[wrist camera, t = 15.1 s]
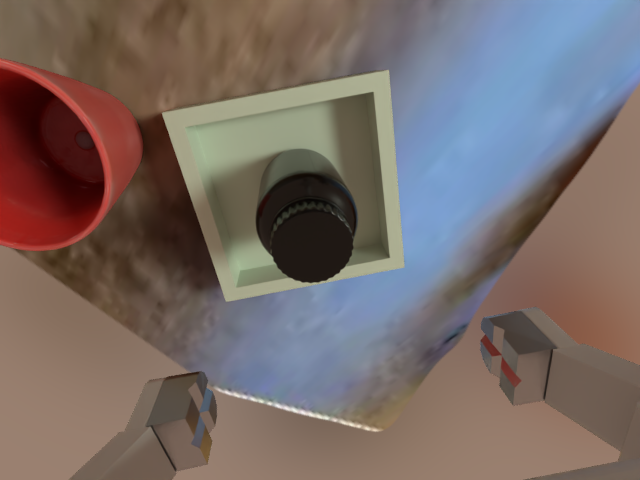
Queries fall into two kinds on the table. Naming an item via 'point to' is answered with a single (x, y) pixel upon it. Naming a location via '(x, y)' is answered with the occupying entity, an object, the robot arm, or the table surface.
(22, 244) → the flower pot
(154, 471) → the robot arm
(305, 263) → the supplement bottle
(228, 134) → the tray
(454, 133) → the table surface
